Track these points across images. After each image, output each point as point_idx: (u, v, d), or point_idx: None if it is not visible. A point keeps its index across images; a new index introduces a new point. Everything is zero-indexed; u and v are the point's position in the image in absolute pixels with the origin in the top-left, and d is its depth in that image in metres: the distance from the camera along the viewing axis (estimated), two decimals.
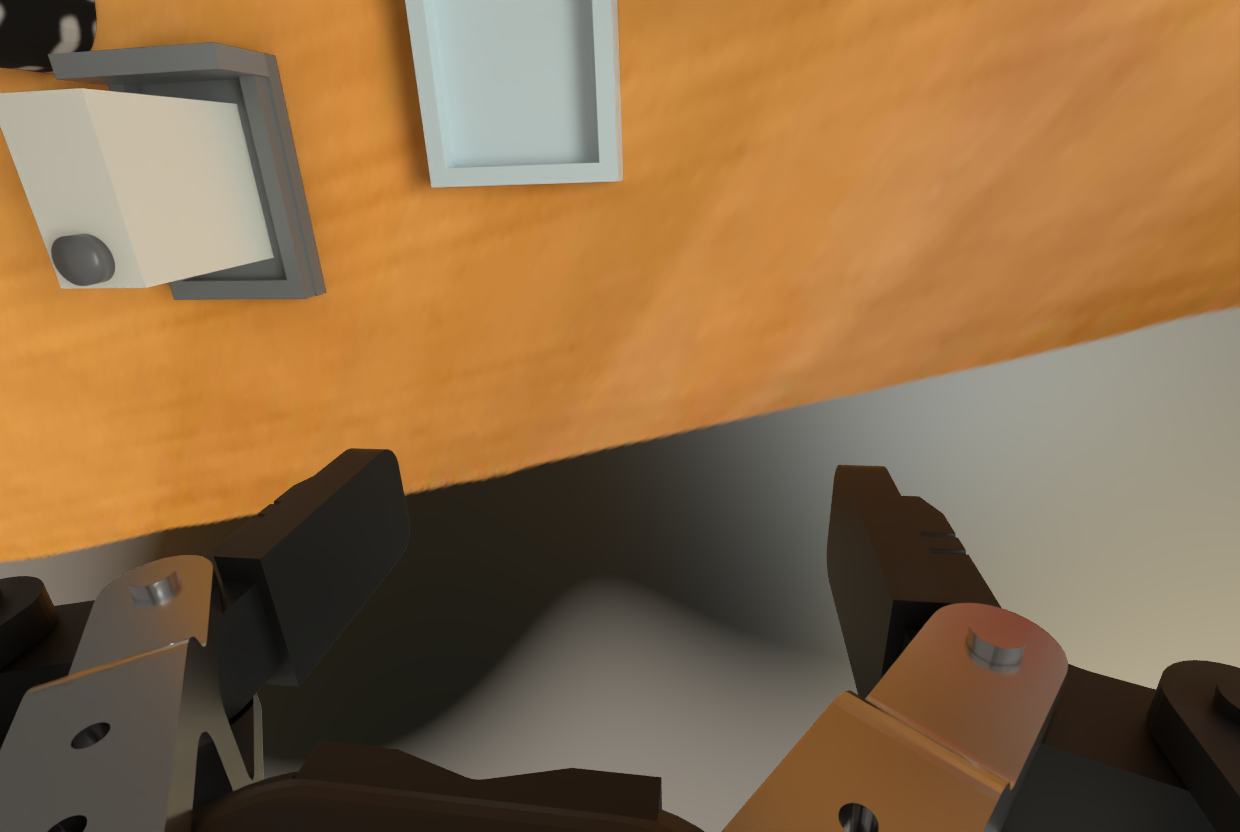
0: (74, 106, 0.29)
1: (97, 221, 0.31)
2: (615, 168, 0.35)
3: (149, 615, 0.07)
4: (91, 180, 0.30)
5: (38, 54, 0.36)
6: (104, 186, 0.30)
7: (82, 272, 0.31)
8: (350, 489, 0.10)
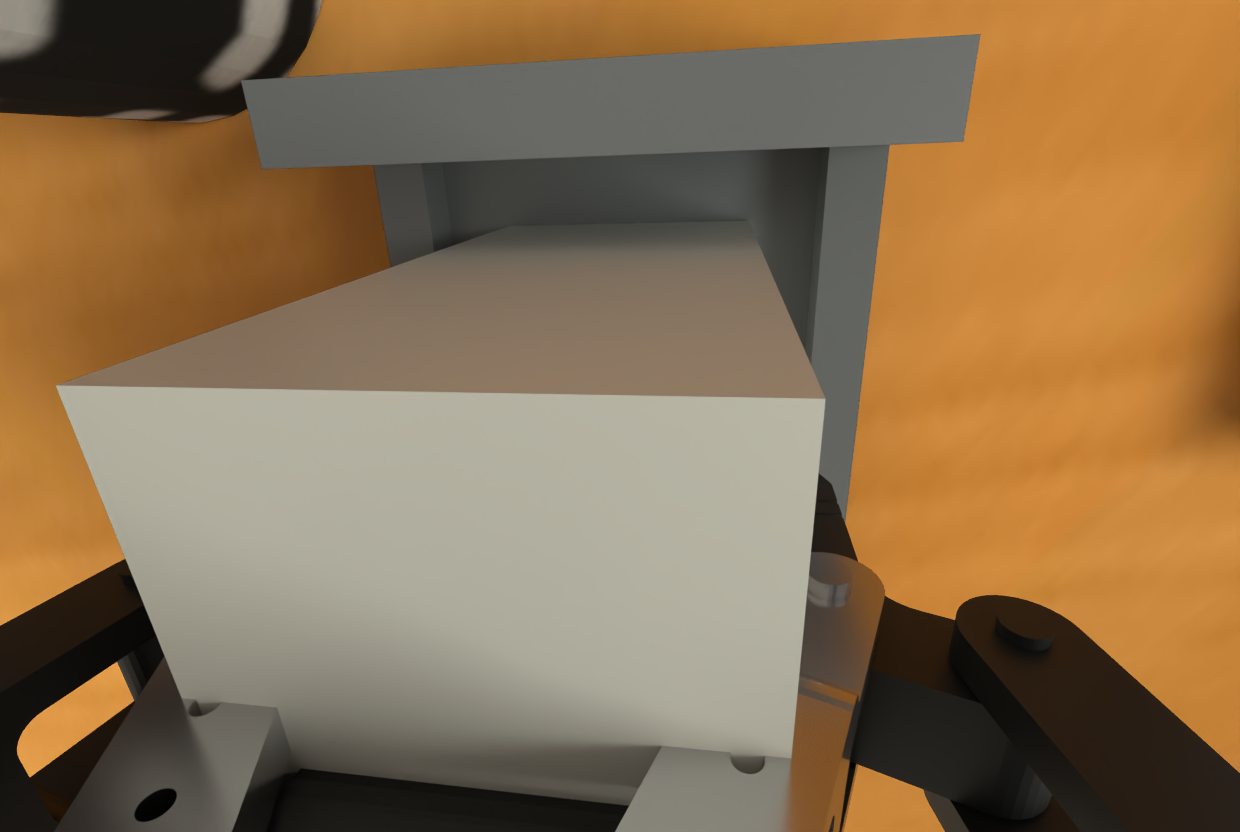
0: (706, 503, 0.04)
1: None
2: None
3: None
4: None
5: (173, 75, 0.11)
6: None
7: None
8: None
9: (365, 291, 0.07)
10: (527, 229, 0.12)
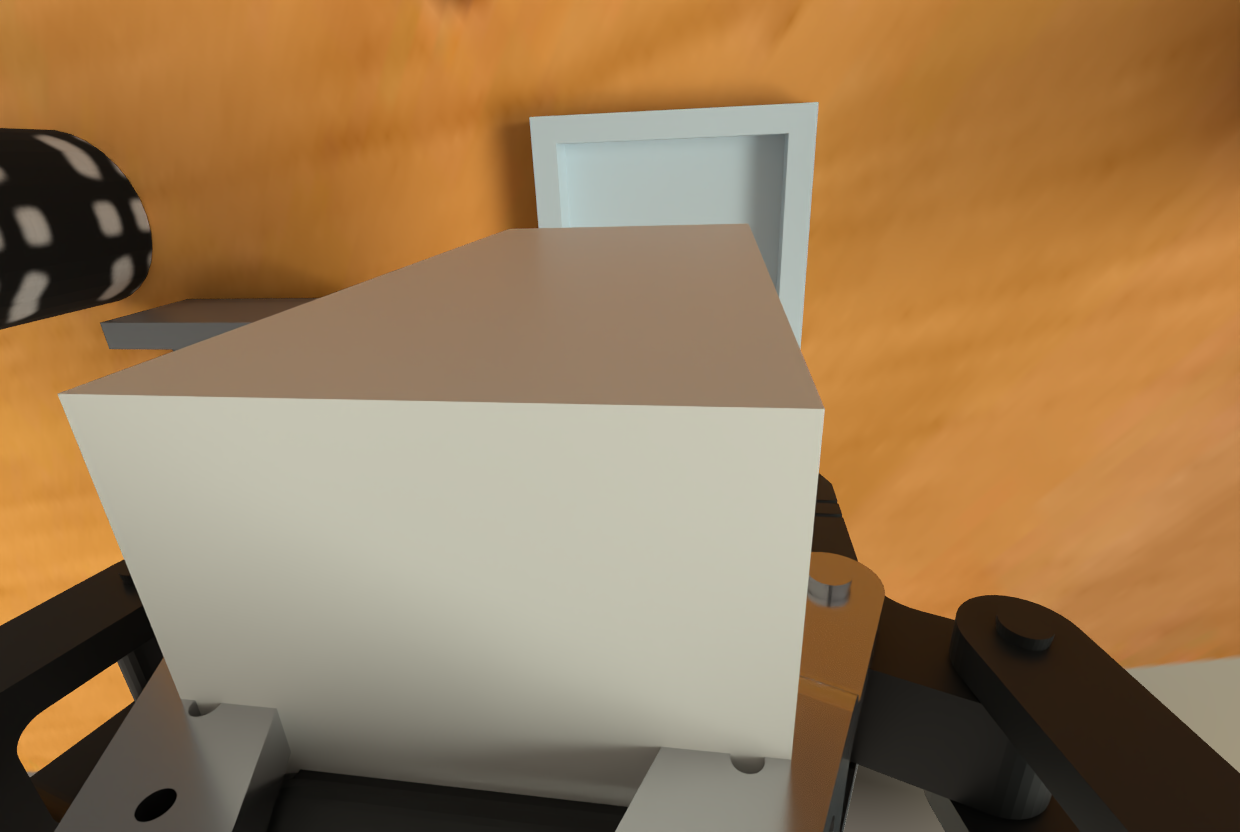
0: (704, 514, 0.04)
1: None
2: None
3: None
4: None
5: (85, 303, 0.30)
6: None
7: None
8: None
9: (366, 296, 0.07)
10: (527, 232, 0.13)
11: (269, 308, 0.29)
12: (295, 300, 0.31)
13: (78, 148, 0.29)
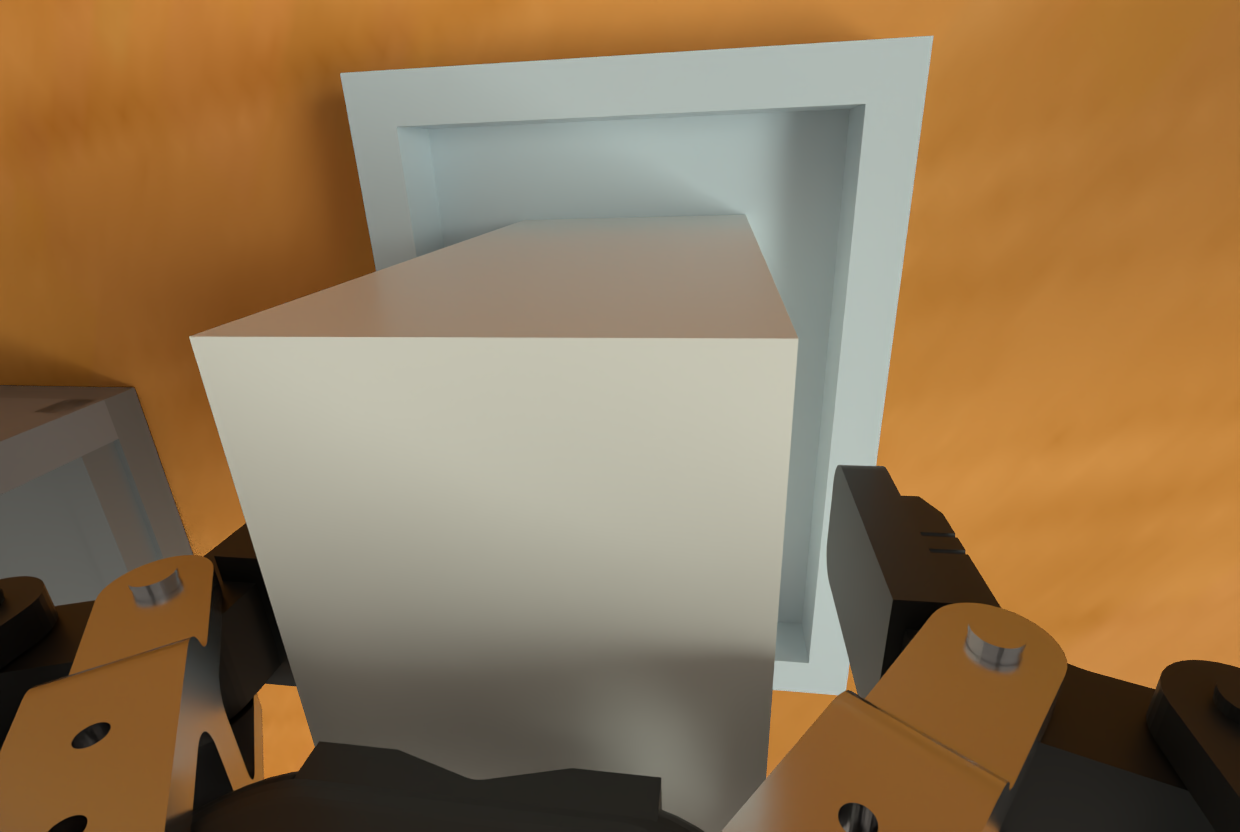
0: (707, 426, 0.05)
1: None
2: (842, 674, 0.16)
3: (150, 615, 0.07)
4: (656, 718, 0.06)
5: None
6: (720, 747, 0.06)
7: None
8: None
9: (411, 271, 0.08)
10: (541, 222, 0.14)
11: None
12: (13, 392, 0.19)
13: None
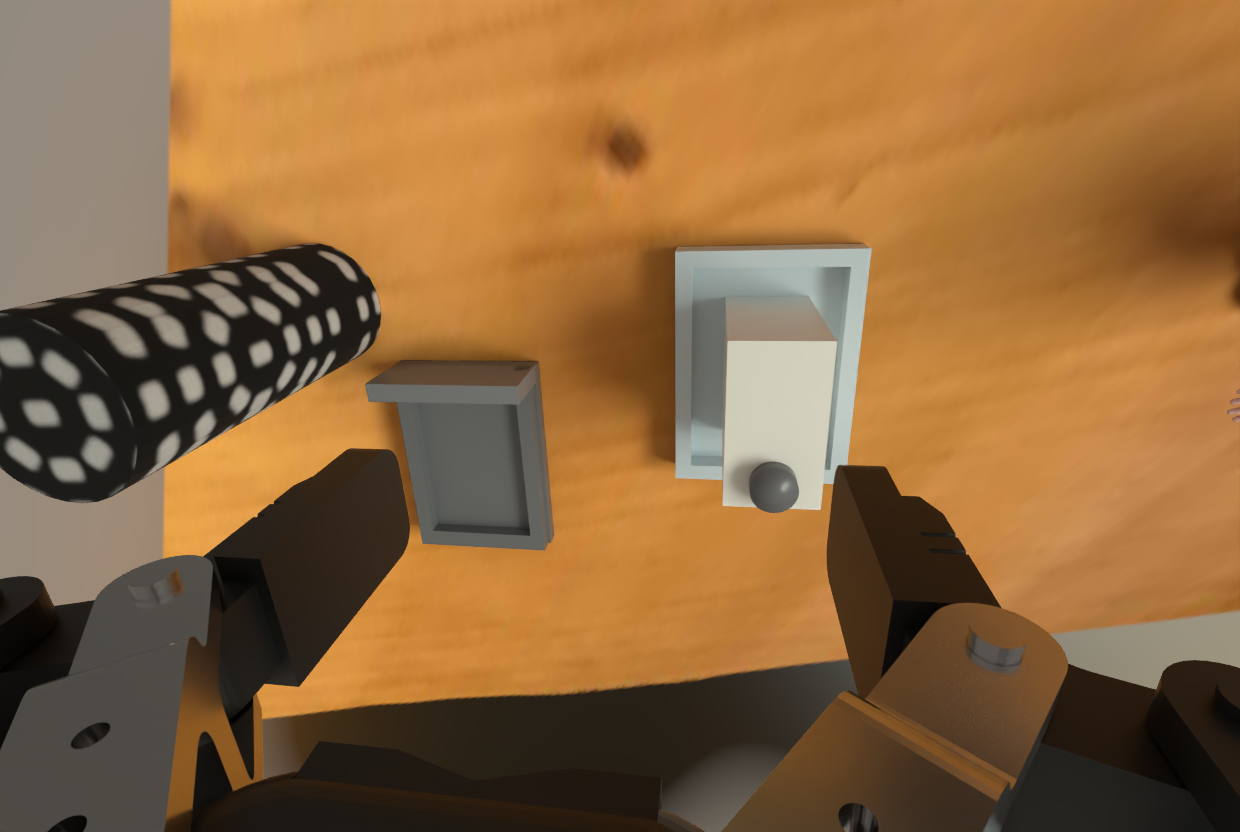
0: (821, 356, 0.29)
1: (795, 452, 0.31)
2: None
3: (150, 615, 0.07)
4: (806, 418, 0.31)
5: (340, 366, 0.42)
6: (819, 424, 0.31)
7: (778, 501, 0.32)
8: (350, 489, 0.10)
9: (737, 324, 0.33)
10: (736, 299, 0.38)
11: (475, 371, 0.41)
12: (486, 363, 0.43)
13: (340, 258, 0.41)
